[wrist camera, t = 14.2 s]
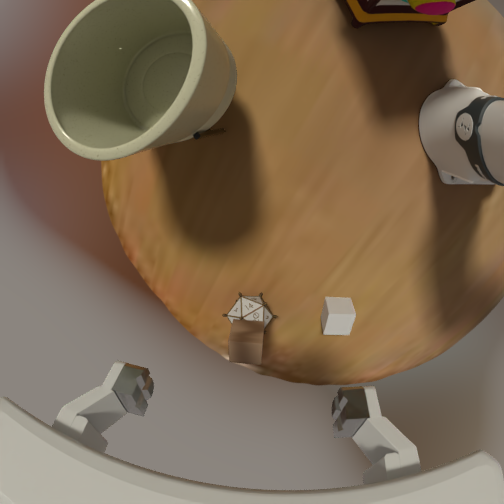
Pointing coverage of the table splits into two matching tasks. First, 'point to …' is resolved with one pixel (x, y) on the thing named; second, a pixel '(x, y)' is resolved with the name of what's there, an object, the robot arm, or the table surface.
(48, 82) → the planter
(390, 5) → the decorative lantern
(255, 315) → the game die
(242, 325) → the walnut block
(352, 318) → the grey block
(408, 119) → the table surface
